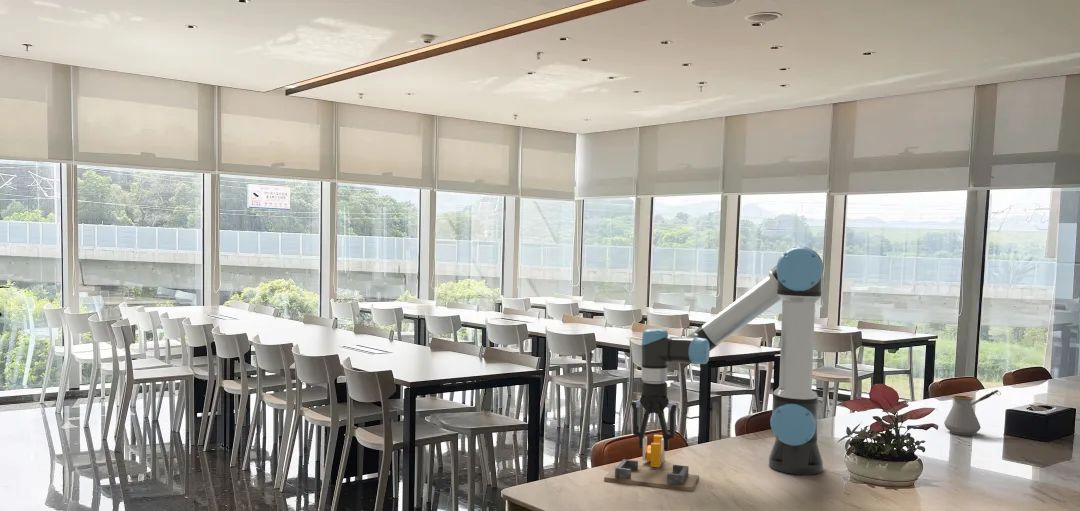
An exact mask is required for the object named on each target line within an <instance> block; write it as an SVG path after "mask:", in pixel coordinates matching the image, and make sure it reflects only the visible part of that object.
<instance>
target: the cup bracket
mask: <svg viewBox="0 0 1080 511" xmlns="http://www.w3.org/2000/svg"><path fill="white" fill-rule="evenodd" d="M699 479H700V475H698V474H689V466H688V465H682V464H680V465H679V464H673V465H672V471H663V470H662V471H661V470H653V469H645V468H639V460H635V459H634V460H633V459H625V458H624V459H622V460H621V461H620V462H619V463H618V464H617V465H614V466H613V467H612V468H611V469H610V470H609V471H608V472H607V474H606V475H605V476H603V481H604V482H610V483H611V482H612V483H620V484H627V485H637V486H645V487H653V488H654V487H655V488H661V489H670V490H677V491H686V492H693V491H694V490H695V488H696V485H697V484H698V482H699Z"/></svg>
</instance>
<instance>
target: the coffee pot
mask: <svg viewBox="0 0 1080 511" xmlns="http://www.w3.org/2000/svg"><path fill="white" fill-rule="evenodd" d="M998 393H999V394H998ZM995 394H996V395H997V396H1001V395H1002V393H1001V392H1000V391H999V390H998V389H996V390H994V391H991V392H989V393H986V394H985V395H984V396H981V397H980V398H978V399H977V400H975V401H973V400H974V397H973V396H972V397H971V396H966V395H953V396H952V398H953V400H954V403H953V405H952V407H951V409H950V411H949V412H948V414H947V416H946V419H945V420H944V422H943V423H944V424H943V425H944V426H945V428H946V429H947V430H948V431H949V433H951V434H955V435H959V436H974V435H975V434H977V433H978V432H979V431H980V430H981V424H980V421H979V419H978V417H977V415H976V413H975V411H974V408H973V406H974V405H977V404H978V403H980V402H982V401H984V400H986V399H989V398H991V396H995Z"/></svg>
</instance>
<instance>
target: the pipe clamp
mask: <svg viewBox="0 0 1080 511" xmlns="http://www.w3.org/2000/svg"><path fill="white" fill-rule="evenodd" d="M662 438H663V434H654V435H653V442H651V443H650V444H647V453H646V460H645V462H650V467H653V468H654V467H655V468H660V467H661V464H662V462H661V439H662Z"/></svg>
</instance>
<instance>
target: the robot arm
mask: <svg viewBox="0 0 1080 511" xmlns="http://www.w3.org/2000/svg"><path fill="white" fill-rule="evenodd" d="M823 272H824V263H823V260H822V258H821V256H820V255H819V253H817V252H816V251H814V250H813V249H811V248H808V247H805V246H794V247H791V248H788V249H787V250H785V251H784V252H783V253H782V254H781V255H780V256H779V259H778V260H777V263H776V265H775V266H774V267H773V268H771V269H770V270H769V273H768V276H767V277H766V278H764V279H762V280H761V281H760V282H758V284H757V283H756V285H754V287H752V288H751V289H749V290H748V291H746V292H745V293H744V294H742V295H741V296H740V297H738V298H737V299H736V300H735V301H733V302H732V303H730V304H729V305H728V306H726V307H725V308H724V309H722V310H721V311H720V312H718V313H717V314H716V315H714V316H713V317H712V318H710V319H709V320H708V321H707V322H705V323H704V324H703V325H701V326H700V327H698V328H696V329H695V330H694V331H692V332H691V333H690V334H688V335H687V336H685V337H684V336H683V337H682V336H670V335H669V333H668V332H669V331H668V330H667V329H665V328H664V329H663V328H647V329H644V330H643V331H642V338H641V339H642V340H641V380H642V382H641V395H640V396H641V397H640V398H639V399H638V400H633V401H632V402H631V408H632V410H633V411H632V413H633V414H632V433H633V435H634V436H637V437H638V440H639V441H638V443H639V445H638V446H639V447H638V448H640V449H642V461H645V462H646V453H647V447H648V436H646V430H647V427H648V424H649V420H650V415H651V414H655V415H656V414H657V417H658V419H659V424H660V428H661V433H662V435H663V438H662V439H661V463H664V462H665V461H666V451H668V450H669V446H670V441H669V440H670V439H673V438H674V437H675V436H676V410H677V409H678V404H677V402H676V403H675V402H674V403H673V402H671V401H669V398H668V383H667V382H666V381H668V363H678V364H679V363H680V364H690V365H691V364H692V365H706V364H707V363H708V362H709V359H710V352H711V351H712V350H713V349H715V348H716V347H717V346H719V345H721V343H723V342H725V341H726V340H727V339H728V338H730V337H731V336H733V335H734V334H735V333H737V332H738V331H739V330H741V329H742V328H744V327H745V326H747V325H748V324H749V323H750V322H752V321H753V320H754V319H756V318H757V317H758V316H760V315H762V314H763V313H764V312H765V311H767V310H768V309H770V308H771V307H773V306H774V305H775V304H777V303H778V302H780V301H782V310H781V332H780V333H781V334H780V353H779V354H780V355H779V356H780V357H779V359H780V360H779V380H778V381H779V383H778V384H779V385H778V387H777V388H776V389H775V390H774V391H773V392H772V414H771V416H770V418H769V420H770V421H769V422H770V428H771V431H772V433H773V435H774V436H775V440H774V443H773V446H772V449H771V450H770V454H769V457H768V466H769V467H770V468H771V469H773V470H774V471H778V472H782V473H786V474H792V475H793V474H794V475H809V476H810V475H816V474H821V473H823V470H824V462H823V459H822V455H821V451H820V449H819V445H818V422H819V421H818V419H819V417H818V414H819V402H820V401H819V395H818V393H817V391H814V390H813V389H812V386H813V385H812V384H813V362H814V335H815V316H816V315H815V312H816V311H815V310H816V303H817V301H818V300H820V299H821V298H822V286H823V285H822V284H823ZM641 406H642V407H643V409H644V414H643V419H642V422H641V427H640V424H639V423H640V407H641ZM667 406H668V410H669V430H668V424H667V420H666V416H665V409H666V407H667Z"/></svg>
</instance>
